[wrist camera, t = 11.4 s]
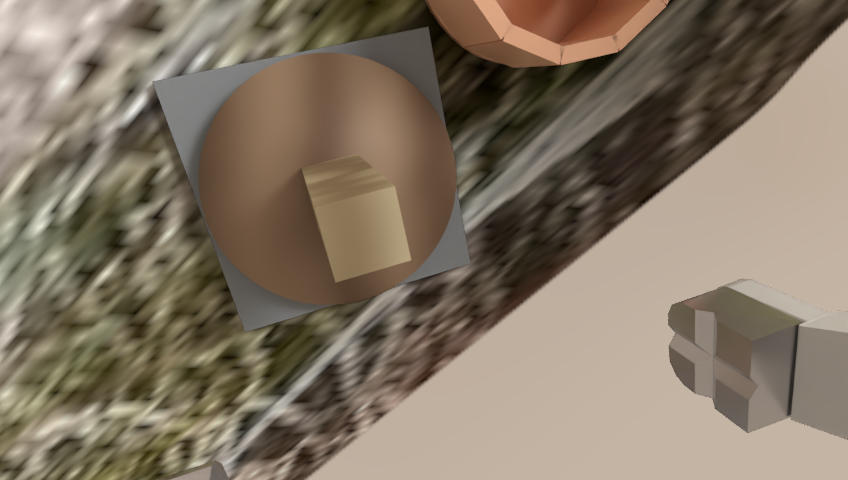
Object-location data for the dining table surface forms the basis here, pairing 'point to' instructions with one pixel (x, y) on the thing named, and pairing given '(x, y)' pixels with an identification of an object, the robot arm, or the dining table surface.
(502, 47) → the bowl
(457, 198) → the mat
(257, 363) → the dining table surface
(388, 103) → the lid
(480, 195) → the dining table surface
